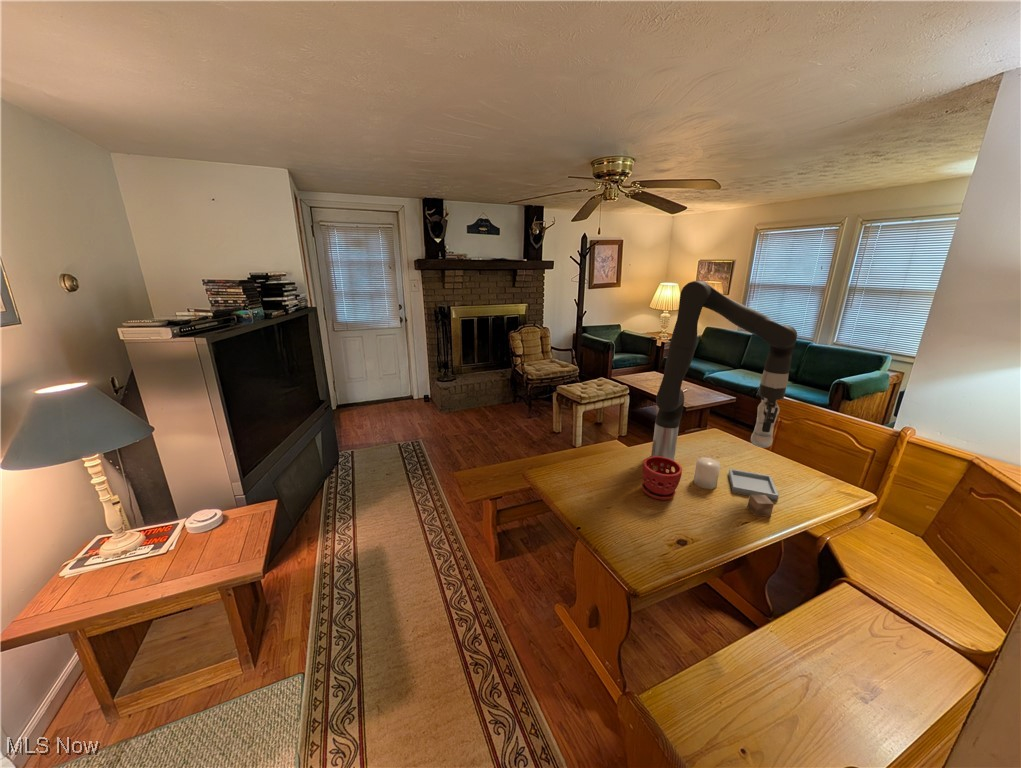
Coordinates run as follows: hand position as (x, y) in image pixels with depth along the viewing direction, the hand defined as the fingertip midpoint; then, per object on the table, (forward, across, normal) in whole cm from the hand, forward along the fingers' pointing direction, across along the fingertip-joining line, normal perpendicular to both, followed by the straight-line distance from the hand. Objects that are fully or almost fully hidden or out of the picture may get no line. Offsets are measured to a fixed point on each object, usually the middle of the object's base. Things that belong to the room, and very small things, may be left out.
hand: (763, 428), depth 134 cm
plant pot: (+25, +18, -32) cm, 44 cm away
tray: (+24, 0, 0) cm, 24 cm away
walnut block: (+24, +16, 0) cm, 29 cm away
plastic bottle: (+7, 0, 0) cm, 7 cm away
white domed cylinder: (+24, +4, -16) cm, 29 cm away
